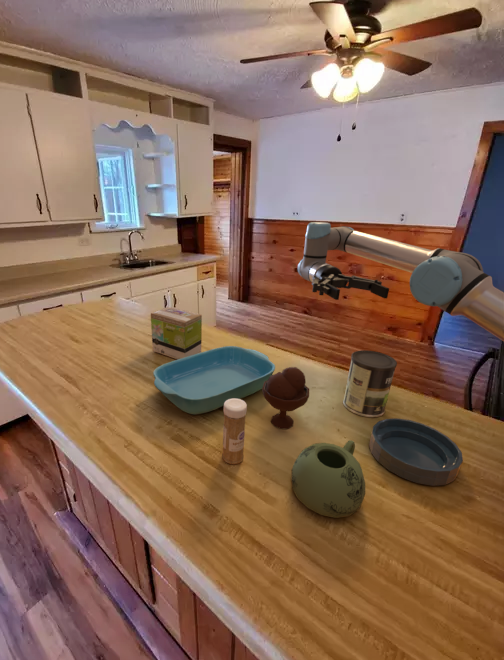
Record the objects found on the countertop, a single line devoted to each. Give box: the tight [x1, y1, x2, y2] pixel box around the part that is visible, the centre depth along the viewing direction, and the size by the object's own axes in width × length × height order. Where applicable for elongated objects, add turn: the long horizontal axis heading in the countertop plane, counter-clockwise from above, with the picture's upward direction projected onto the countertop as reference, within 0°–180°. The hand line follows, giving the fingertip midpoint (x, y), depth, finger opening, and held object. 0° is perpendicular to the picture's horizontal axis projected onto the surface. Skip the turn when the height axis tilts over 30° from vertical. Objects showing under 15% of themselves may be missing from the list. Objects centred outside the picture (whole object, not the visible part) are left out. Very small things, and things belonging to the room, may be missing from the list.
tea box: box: [150, 306, 203, 360], centre depth 116 cm, size 15×10×15 cm, turn 55°
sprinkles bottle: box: [221, 398, 248, 465], centre depth 69 cm, size 5×5×14 cm
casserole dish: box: [152, 345, 276, 416], centre depth 95 cm, size 37×22×7 cm, turn 127°
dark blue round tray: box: [368, 417, 464, 486], centre depth 71 cm, size 16×16×4 cm
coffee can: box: [342, 349, 398, 418], centre depth 86 cm, size 10×10×14 cm
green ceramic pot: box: [291, 439, 366, 519], centre depth 62 cm, size 16×13×9 cm
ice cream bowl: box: [261, 366, 310, 430], centre depth 80 cm, size 11×11×15 cm
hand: (362, 294), depth 87 cm, fingers open, 13 cm apart
